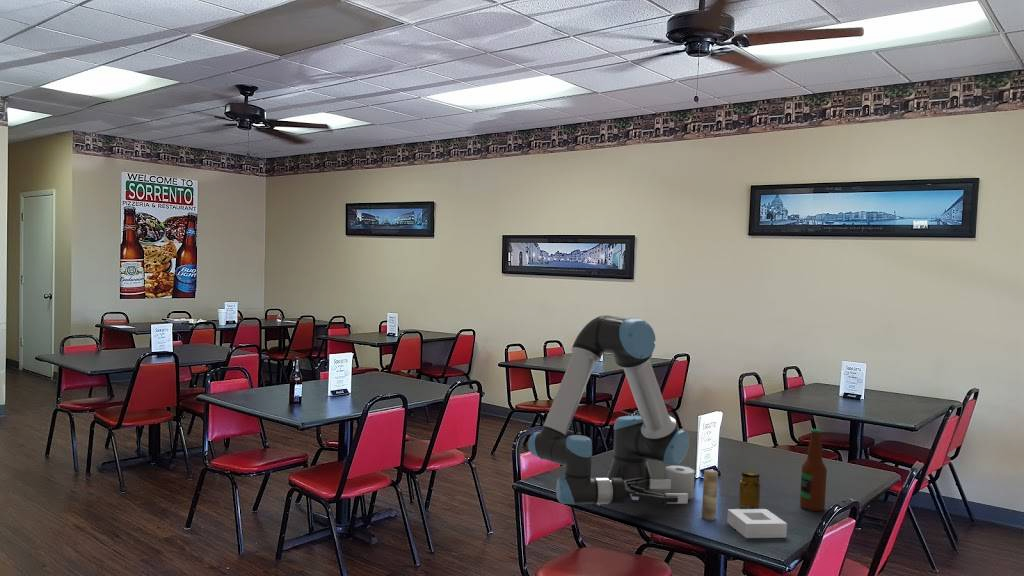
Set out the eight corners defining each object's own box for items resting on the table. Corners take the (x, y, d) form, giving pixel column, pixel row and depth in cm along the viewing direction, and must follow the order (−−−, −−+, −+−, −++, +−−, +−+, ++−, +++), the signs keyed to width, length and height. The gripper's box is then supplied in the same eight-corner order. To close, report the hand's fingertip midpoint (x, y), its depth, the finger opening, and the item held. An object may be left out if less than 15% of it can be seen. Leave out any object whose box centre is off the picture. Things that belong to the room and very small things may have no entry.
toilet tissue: (678, 486, 247) (679, 461, 246) (698, 499, 234) (699, 473, 234) (654, 487, 244) (655, 462, 244) (672, 500, 232) (673, 474, 231)
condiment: (743, 506, 229) (745, 468, 229) (769, 513, 223) (771, 474, 223) (732, 511, 224) (734, 472, 223) (759, 518, 218) (761, 479, 218)
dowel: (699, 515, 218) (701, 469, 218) (712, 515, 219) (714, 469, 218) (705, 520, 214) (707, 473, 214) (717, 520, 215) (720, 473, 214)
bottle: (803, 502, 235) (808, 426, 234) (827, 508, 230) (831, 430, 230) (796, 507, 229) (800, 429, 229) (820, 513, 225) (824, 433, 224)
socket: (727, 522, 213) (727, 509, 213) (765, 522, 215) (766, 508, 215) (745, 538, 201) (746, 523, 201) (786, 537, 203) (787, 523, 203)
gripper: (597, 490, 224) (663, 490, 227) (621, 518, 199) (694, 518, 202) (598, 466, 224) (664, 466, 227) (622, 491, 199) (695, 491, 202)
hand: (678, 491), depth 215 cm, fingers open, 13 cm apart
